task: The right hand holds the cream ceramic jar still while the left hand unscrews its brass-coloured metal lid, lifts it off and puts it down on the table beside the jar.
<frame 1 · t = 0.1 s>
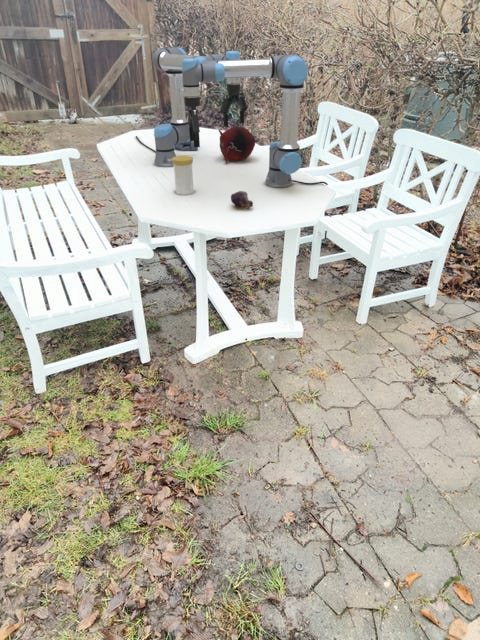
left hand: (234, 125, 259), 28 cm above the table, tool pointing down, fingers open, 13 cm apart
right hand: (194, 143, 223), 28 cm above the table, tool pointing down, fingers open, 13 cm apart
lid: (182, 158, 238), point 18 cm above the table, screwed on, not yet turned
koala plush: (186, 148, 327), on the table
rock: (240, 207, 227), on the table
jar: (184, 191, 248), on the table
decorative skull: (236, 159, 302), on the table
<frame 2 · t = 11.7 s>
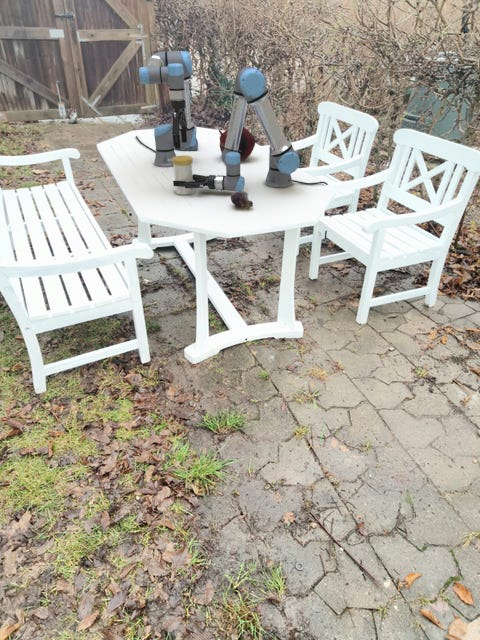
left hand: (181, 145, 234), 25 cm above the table, tool pointing down, fingers open, 12 cm apart
right hand: (176, 180, 246), 6 cm above the table, tool horizontal, fingers closed on jar, 10 cm apart
jar: (184, 191, 248), on the table, touching right hand
everything else where it was.
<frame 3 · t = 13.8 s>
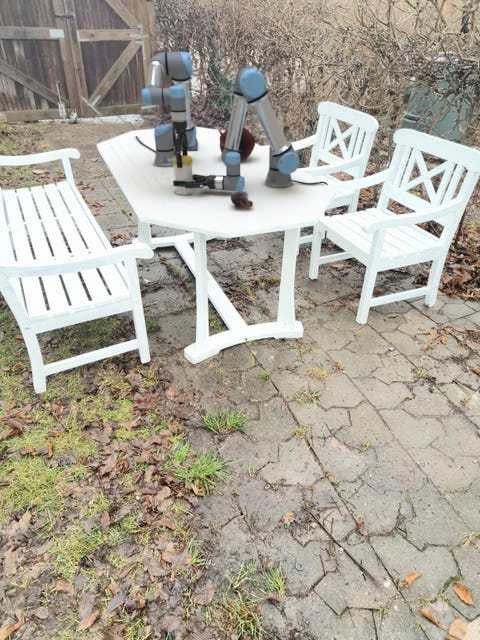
left hand: (182, 164, 240), 15 cm above the table, tool pointing down, fingers closed on lid, 11 cm apart
right hand: (176, 180, 246), 6 cm above the table, tool horizontal, fingers closed on jar, 10 cm apart
lid: (182, 158, 238), point 18 cm above the table, screwed on, not yet turned, touching left hand
jar: (184, 191, 248), on the table, touching right hand
everything else where it was.
when the left hand's fingers open (15 cm above the table, at t = 15.5 s): lid stays where it is, point 18 cm above the table.
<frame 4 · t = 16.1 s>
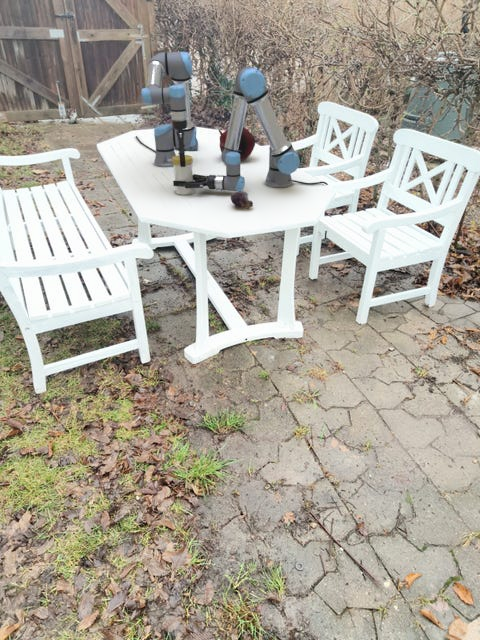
left hand: (182, 163, 240), 15 cm above the table, tool pointing down, fingers open, 12 cm apart
right hand: (176, 180, 246), 6 cm above the table, tool horizontal, fingers closed on jar, 10 cm apart
lid: (182, 158, 238), point 18 cm above the table, turned 90° so far, risen 0.3 cm, still on its thread
jar: (184, 191, 248), on the table, touching right hand
everything else where it was.
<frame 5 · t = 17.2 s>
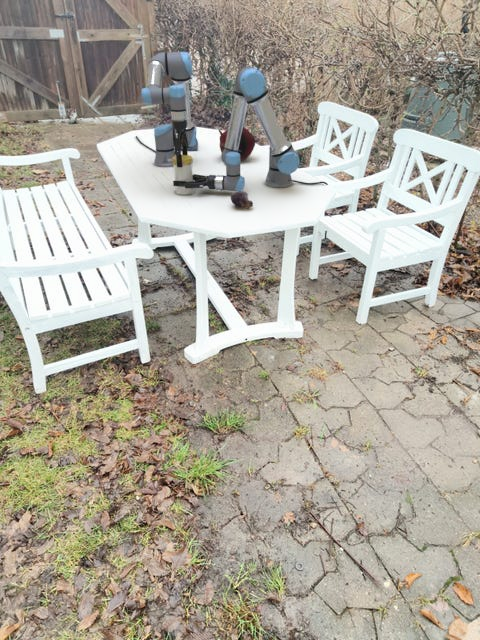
left hand: (182, 164, 240), 15 cm above the table, tool pointing down, fingers closed on lid, 11 cm apart
right hand: (176, 180, 246), 6 cm above the table, tool horizontal, fingers closed on jar, 10 cm apart
lid: (182, 158, 238), point 18 cm above the table, turned 90° so far, risen 0.3 cm, still on its thread, touching left hand
jar: (184, 191, 248), on the table, touching right hand
everything else where it was.
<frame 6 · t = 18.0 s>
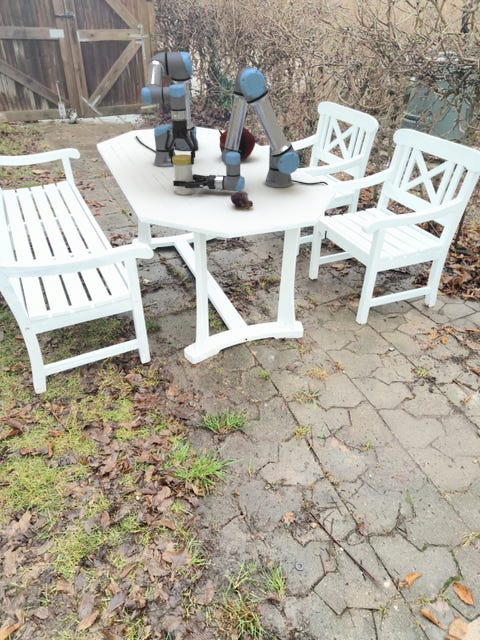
left hand: (182, 163, 240), 15 cm above the table, tool pointing down, fingers closed on lid, 11 cm apart
right hand: (176, 180, 246), 6 cm above the table, tool horizontal, fingers closed on jar, 10 cm apart
lid: (182, 157, 238), point 18 cm above the table, off its thread, touching left hand
jar: (184, 191, 248), on the table, touching right hand
everything else where it was.
when the left hand's fingers open (1 cm above the table, at t = 23.3 s): lid drops 2 cm, point 2 cm above the table.
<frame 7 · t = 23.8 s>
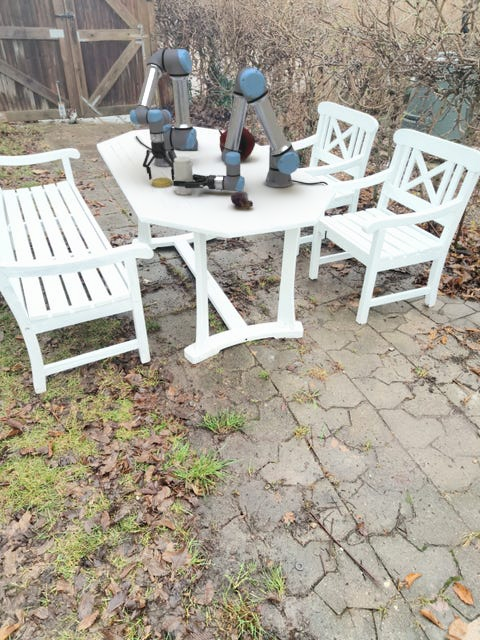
left hand: (161, 179, 258), 3 cm above the table, tool pointing down, fingers open, 13 cm apart
right hand: (176, 180, 246), 6 cm above the table, tool horizontal, fingers closed on jar, 10 cm apart
lid: (161, 180, 258), point 2 cm above the table, off its thread
jar: (184, 191, 248), on the table, touching right hand
everything else where it was.
when the right hand's fingers open (6 cm above the table, at t = 24.4 s): jar stays where it is, on the table.
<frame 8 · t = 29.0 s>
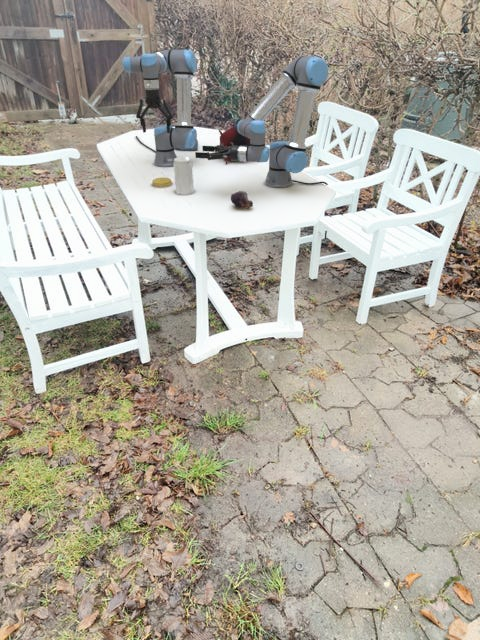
left hand: (156, 132, 243), 28 cm above the table, tool pointing down, fingers open, 13 cm apart
right hand: (199, 151, 235), 22 cm above the table, tool horizontal, fingers open, 13 cm apart
jar: (184, 191, 248), on the table
everything else where it was.
at the end: lid came off its thread; lid point 2.0 cm above the table; the left hand is holding nothing; the right hand is holding nothing; jar tilted 0°; jar moved 0.0 cm from its start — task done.
